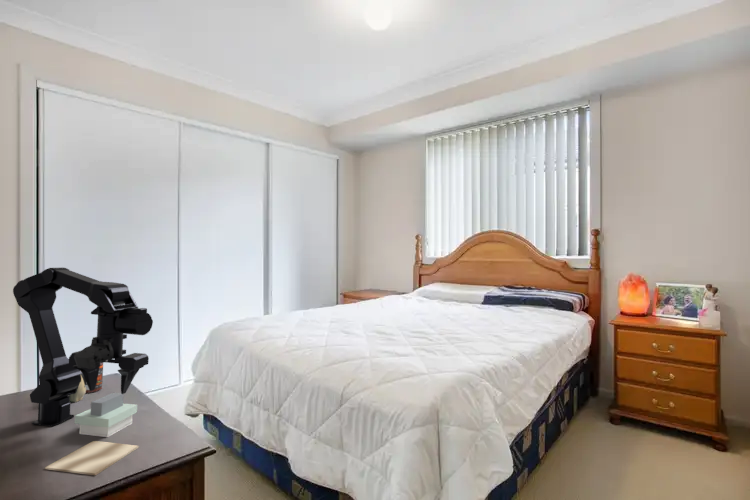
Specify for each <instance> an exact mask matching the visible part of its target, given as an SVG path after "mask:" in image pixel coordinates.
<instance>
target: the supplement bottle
mask: <svg viewBox="0 0 750 500" xmlns="http://www.w3.org/2000/svg"><path fill="white" fill-rule="evenodd" d="M81 376H82V378H83V381H84V384H85V387H86V392H85V394H90V393H96V392H99V391H101V390H102V389H103V376H104V363H100V368H99V373H98V378H97V383H96V386H95V389H94V390H93V391H90V390H89V388H88V385H87V382H86V380H85V377H84V375H83V373H82V374H81Z"/></svg>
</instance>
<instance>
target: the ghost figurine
mask: <svg viewBox="0 0 750 500" xmlns="http://www.w3.org/2000/svg"><path fill="white" fill-rule="evenodd" d="M85 392H86V387H85V384H84V381H83V378H82V376H81V382H80V384H79V386H78V389H77V392H76V393H75V394H71V395H69V396H70V404H71V403H77V402H79V401H82V400H83V397H85V395H86V393H85Z"/></svg>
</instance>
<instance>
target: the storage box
mask: <svg viewBox="0 0 750 500" xmlns="http://www.w3.org/2000/svg"><path fill="white" fill-rule="evenodd" d="M130 425H133V415H131V416H129V417H127V418H125V419H123V420H121V421H120V422H118V423H116V424H114V425H112V426H110V427H100V426H91V425H81V424H79V435H86V436H94V437H95V436H96V437H104V438H105V437H106V438H109V437H111V436H112V435H114V434H116V433H117V432H119V431H121V430H124V429H125V428H127V427H129V426H130Z"/></svg>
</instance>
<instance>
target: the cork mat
mask: <svg viewBox="0 0 750 500" xmlns="http://www.w3.org/2000/svg"><path fill="white" fill-rule="evenodd" d="M139 447H140V446H139V445H136V444H135V445H133V444H127V443H118V442H107V441H101V440H100V441H99V440H93V441H91V442H88V443H87V444H85V445H83V446H82V447H80V448H78V449H76V450H74V451H72V452H71V453H69V454H67V455H65V456H63V457H62V458H60V459H58V460H56V461H53V463H50V464H48V465H47V466H45V467H44V470H50V471H58V472H65V473H72V474H81V475H88V476H97V475H98V474H100V473H101V472H104V471H105V470H106V469H107V468H110V467H111V466H112V465H114V464H115V463H117V462H119V461H120V460H122V459H123V458H125V457H126V456H128V455H129V454H130V453H133V452H134V451H135V450H137V449H139Z"/></svg>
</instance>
